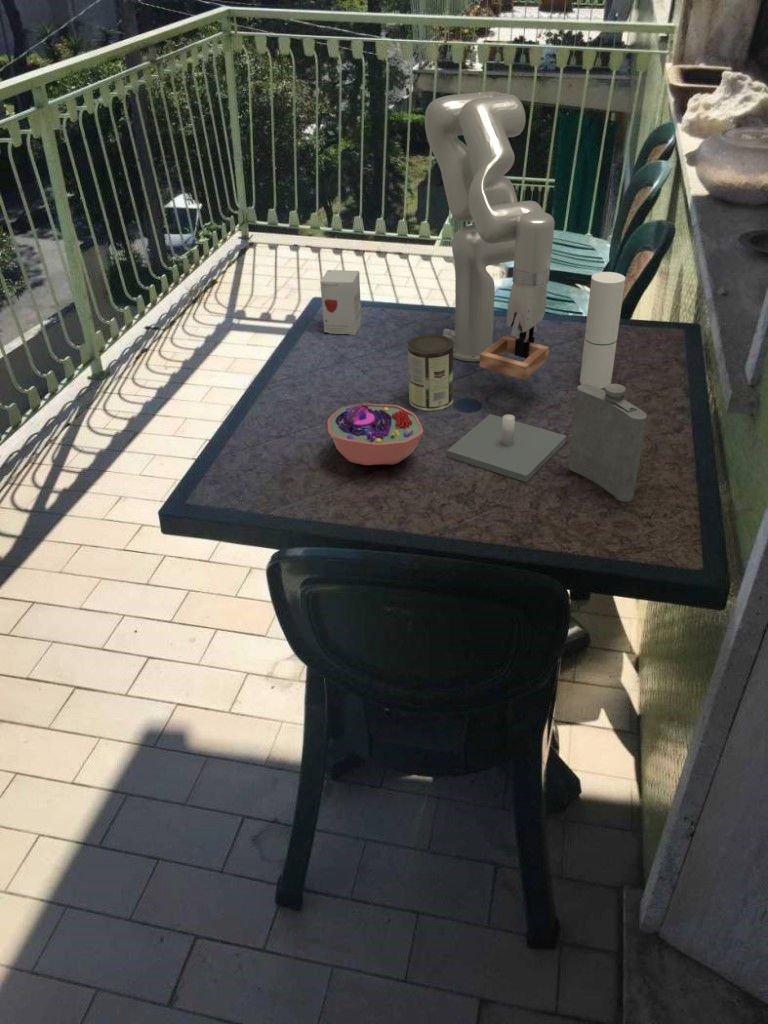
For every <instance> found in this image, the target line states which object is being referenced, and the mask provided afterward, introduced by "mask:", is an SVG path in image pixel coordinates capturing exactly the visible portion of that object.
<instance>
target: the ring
mask: <svg viewBox="0 0 768 1024" xmlns="http://www.w3.org/2000/svg"><path fill="white" fill-rule="evenodd" d="M515 341H516V340H515V338H513V337H511V336H510V335H503V336H501V337H500V338H499V339H498V340H497V341H495V342H494V344H493V345H491V346H490V347H489V348H488V349H486V350H485V351H484V352H482V353H481V354H480V361H479V368H483V369H485V370H490V371H492V372H497V373H500V374H503V375H506V376H511V377H514V378H517V379H521V380H527V379H528V378H529V377H530V376H531V375H532V374H533V373H534V372H536V370H538V369H539V368H540V367H541V366H542V365H543V364H545V362H547V361H548V359H549V352H550V347H549V346H546V345H542V344H540V343H535V342H534V343H531V342H530V345H529V356H528V358H525V360H524V361H519V360H516V359H512V358H510V357H505V356H503V355H505V354H506V353H508V354H513V355H515V354H514V353H515Z"/></svg>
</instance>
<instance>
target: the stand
mask: <svg viewBox="0 0 768 1024" xmlns="http://www.w3.org/2000/svg"><path fill="white" fill-rule="evenodd" d="M566 442H567V435H566V434H562V433H558V432H555V431H551V430H548V429H544V428H540V427H537V426H534V425H530V424H526V423H522V422H521V421H516V416H515V415H513V414H504V415H503V416H499V415H495V414H492V413H489V414H488V415H486V417H485V418H484V419H482V420H481V421H480V422H479V423H478V424H477V425H476V426H474V427H473V428H472V429H470V431H468V432H467V433H466V434H465V435H463V437H461V438H459V440H457V441H456V442H455V443H453V445H451V446H450V447H449V448H448V449H447V450H446V458H449V459H453V460H456V461H458V462H463V463H465V464H468V465H471V466H474V467H477V468H481V469H483V470H487V471H490V472H493V473H496V474H498V475H501V476H505V477H508V478H512V479H514V480H518V481H520V482H524V483H527V482H528V481H529V480H530V479H531V478H532V477H533V476H534V475H535V474H536V473H538V471H539V470H540V469H541V468H542V467H543V466H544V465H545V464H546V463H547V462H548V461H549V460H550V459H551V457H553V456H554V455H556V453H557V452H558V451H559V450H560V448H562V447H563V446H564V445H565V443H566Z"/></svg>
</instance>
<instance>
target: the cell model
mask: <svg viewBox="0 0 768 1024" xmlns="http://www.w3.org/2000/svg"><path fill="white" fill-rule="evenodd" d="M326 422H327V431H328V433H329V435H330V436H331V438H332V440H333V442H334V445H335V448H336V450H337V451H338V452H339V454H341V455H342V456H343V457H344V458H345V459H346V460H347V461H349V462H350V463H353V464H356V465H357V464H358V465H361V466H374V465H388V466H392V465H396V464H399V463H400V462H402V461H404V460H405V459H406V458H408V457H409V456H410V455H411V454H412V453H413V452H414V451H415V449H417V445H418V444H419V442H420V440H421V438H422V435H423V432H424V430H423V429H424V428H423V426H422V424H421V421H420V420H419V418H418V416H417V415H416V414H415V413H414V412H412V411H410V410H408V409H406V408H405V407H403V406H401V405H396V404H382V403H381V404H379V403H377V404H376V403H354V404H350V405H346V406H343V407H341V408H339V409H337V410H336V411H334V412H333V413H332V414H331V415H330V417H328V419H327V421H326Z"/></svg>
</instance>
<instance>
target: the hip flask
mask: <svg viewBox="0 0 768 1024" xmlns="http://www.w3.org/2000/svg"><path fill="white" fill-rule="evenodd" d="M626 389H627V388H626V387H625V386H624V385H622V384H619V383H611V384H609V385H606V386H605V388H604V389H603V388H601V389H600V388H597V387H594V386H592V385H588V384H580V385H577V386H576V393H575V394H576V396H575V402H574V413H573V421H572V431H571V441H570V449H569V455H568V456H569V458H568V466H567V468H568V469H569V471H571V472H572V473H573V472H574V473H576V474H578V475H580V476H582V477H584V478H586V479H588V480H590V481H592V482H593V483H595V484H596V485H597V486H600V487H601V488H602V489H604V490H605V491H606V492H608V493H609V494H610V495H612V496H613V497H614V498H615V499H616V500H617V501H620V502H622V503H629V502H631V501H633V499H634V495H635V489H636V485H637V484H636V483H637V478H638V470H639V465H640V460H641V459H640V458H641V453H642V448H643V442H644V436H645V431H646V430H645V429H646V425H647V418H648V414H647V413H646V412H645V411H644V410H642V409H640V408H639V407H637V406H636V405H634V404H633V403H631V402H629V401H628V400H626V399H625V398H624V397H625V394H626Z"/></svg>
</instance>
